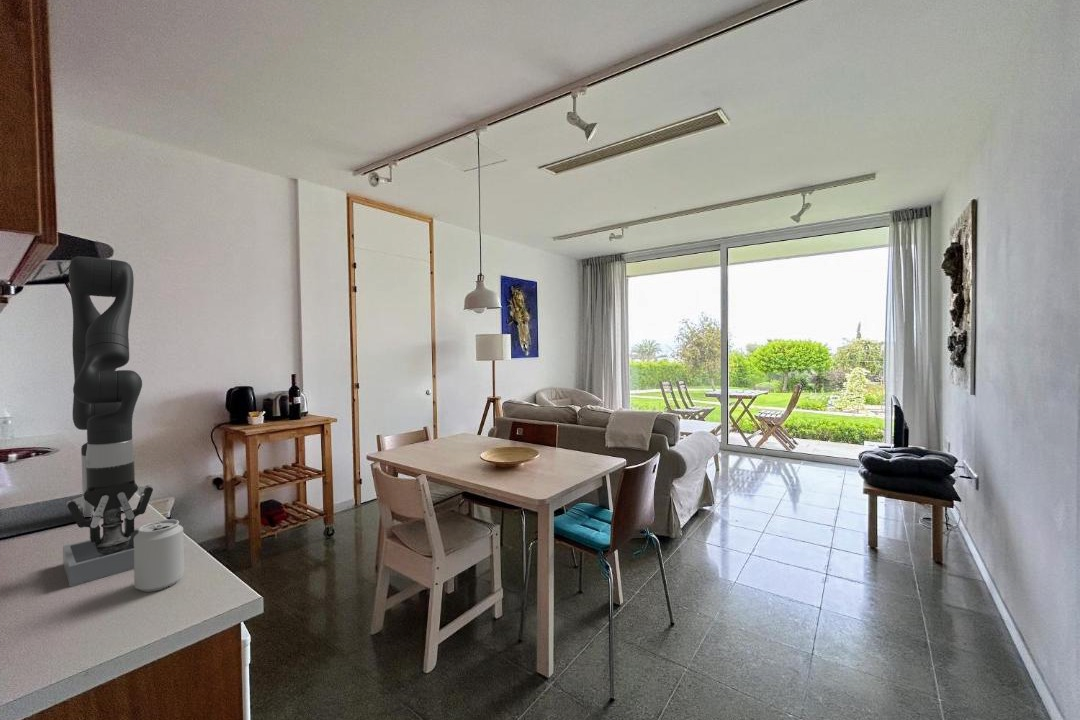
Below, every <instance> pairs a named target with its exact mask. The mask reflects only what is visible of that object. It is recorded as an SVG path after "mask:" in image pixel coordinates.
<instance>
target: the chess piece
mask: <svg viewBox="0 0 1080 720" xmlns="http://www.w3.org/2000/svg"><path fill="white" fill-rule="evenodd" d="M102 522H103V523H102V524H100V528H102V536H101V537H102V539H101V540H100V544H95V543H94V546H95V547H96V550H97V551H98V552H99V553H101V554H103V555H101V556H99V557H102V556H106V555H110V554H113V553H117V552H121V551H125V550H123V549H124V548H125V547H126V546H127V545H128V543H129V539H130V538H131V536H128V537H126V535H124V534H123V532H124V531H123V523H124V520H123V519H122V512H121V508H120V507H119V508H111V509H108V510H104V512H103V517H102Z"/></svg>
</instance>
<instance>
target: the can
mask: <svg viewBox="0 0 1080 720" xmlns="http://www.w3.org/2000/svg"><path fill="white" fill-rule="evenodd" d="M179 523H180V521H179V520H178V519H161V520H156V521H153V522H150V523H146V524H144V525H141V526H140V527H138V528H139V529H138V533H137V534H136V535H135V537H134V568H133V579H134V581H133V582H134V588H135V589H137V590H139V591H142V592H144V593H145V592H146V593H147V592H155V591H160V590H164V589H166V587H167V588H169V587H171V586H173V585H175V584H176V583H178V581H179V580H180V579H181V578H182V577H183V576H184V574H185V555H184V553H185V551H184V549H185V548H184V547H185V546H184V542H185V541H184V527H183V526H182V525H181V524H179ZM174 583H175V584H174ZM172 584H173V585H172ZM168 586H169V587H168ZM163 588H164V589H163Z"/></svg>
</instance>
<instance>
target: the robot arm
mask: <svg viewBox="0 0 1080 720" xmlns="http://www.w3.org/2000/svg"><path fill="white" fill-rule="evenodd" d="M68 265H69V267H68V281H69V288H70V289H69V290H70V299H71V306H72V308H71V309H72V362H73V374H74V375H73V376H74V384H73V388H72V391H73V399H72V421H73V425H74V426H75V428H76V429H77V430H80V431H86V443H84V444H82V445H81V448H80V452H81V456H80V457H81V481H82V482H81V485H82V486H81V487H82V488H81V489H82V490H81V491H82V496H79V497H77V498H75V499H69V500H67V501H66V506H67V509H68V510H69V512H70V514H71V516H72V518H73V519H74V521H75V523H76V525H77V526H78V528H81V529H82V528H89V540H91V542H92V543H93V542H95V544H100V537H101V525H100V521H101V519H102V518H103V512H104V510H108V509H111V508H119V507H120V508H121V511H123V512H122V513H123V514H124V516H125V518H124V520H123V521H124V522H123V523H124V532H125V535H126V537H128V536H131V533H133V532H134V529H135V518H137V516H140V515H143V514H145V513H146V510H147V508H148V505H149V502H150V499H151V497H152V494H153V491H154V489H153V487H152V485H145V486H140V485H138V484H137V483H136V481H135V479H136V477H135V476H136V475H135V458H136V455H135V447H134V442H133V417H134V412H135V407H136V405H137V401H138V399H139V398H140V397H139V396H140V394H141V390H142V389H143V380H142V378H141V375H140V374H139V373H137V372H136V371H134V370H131V369H120V368H122V367H124V366H126V365H127V364H129V361H130V340H129V329H130V327H129V326H130V319H131V315H132V307H133V299H134V298H133V297H134V287H135V286H134V282H135V279H134V271H133V268H132V266H131V265H130V263H129V262H126V261H125V260H123V261H122V260H118V259H109V258H103V257H102V258H101V257H92V256H80V255H79V256H74V257H72V258H71V259H70V262H69V264H68ZM90 296H93V297H104V298H106V297H107V298H114V301H113V302H112V303H111V305H109V307H108V308H107V309H106V310H104V312H102V313H100V312H99V311H98V310H97V308H96V306H95V304H94V303H93V300H92V298H91V297H90ZM117 369H118V370H117ZM119 369H120V370H119ZM136 492H138V493H137V494H138V496H139V500H138V503H137V506H136V508H135V509H132V507H131V504H130V503H129V502H130V500H131V499H132V497H133V496H134V495H135V494H136ZM81 509H82V512H81V511H80V510H81ZM83 516H84V517H83ZM85 517H91V518H85Z"/></svg>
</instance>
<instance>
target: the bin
mask: <svg viewBox="0 0 1080 720" xmlns="http://www.w3.org/2000/svg"><path fill="white" fill-rule="evenodd" d="M139 528H140V527H138V528H134V532H133V533H131V538H130V539H129V543H128V545H127V546H126V547H125V548H124V549H123V550H125V551H121V552H117V553H113V554H110V555H106V556H102V557H100V556H101V555H103V554H101V553H99V552H98V551H97V550H96V547H95V546H94V543H95V542H93V543H92V542H91V540H90V539H87V540H82V541H79V542H78V541H77V542H75V543H70V544H67V545H66V544H65V545H62V565H63V569H64V572H65V575H66V579H67V581H68V584H69V585H68V586H69V587H74V586H77V585H82V584H83V583H84V584H85V583H88V582H91V581H96V580H97V579H101V578H105V577H109V576H112V575H115V574H119V573H122V572H126V571H129V569H130V570H134V548H133V547H134V537H135V535H136V534H137V533H138V529H139ZM122 532H123V534H124V535H125V531H122ZM102 537H103V536H100V540H101V539H102Z"/></svg>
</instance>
